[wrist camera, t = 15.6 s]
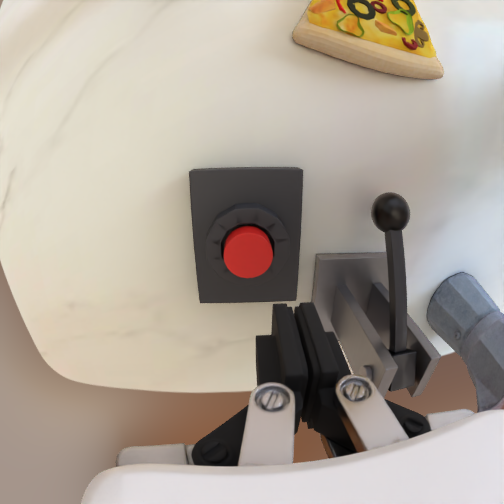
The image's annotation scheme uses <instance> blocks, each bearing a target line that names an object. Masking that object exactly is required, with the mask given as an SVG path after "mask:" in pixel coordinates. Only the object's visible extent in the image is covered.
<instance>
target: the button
mask: <svg viewBox="0 0 504 504" xmlns="http://www.w3.org/2000/svg"><path fill="white" fill-rule="evenodd" d="M272 259H273V251H272V247H271V244H270V241H269V238H268V236H267V235H266V234H265V233H264V232H263V231H262V230H260V229H259V228H257V227H253V226H243V227H239V228H237V229H235V230H234V231H232V232H231V233H230V234H229V236H228V237H227V239H226V242H225V248H224V262H225V264H226V266H227V268H228V269H229V270H230V271H231V272H232V273H233V274H235V275H237V276H239V277H242V278H254V277H257V276H259V275H261V274H263V273H264V272H265V271H266V270H267V269H268V268H269V267H270V265H271V263H272Z"/></svg>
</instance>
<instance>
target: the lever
mask: <svg viewBox="0 0 504 504" xmlns="http://www.w3.org/2000/svg"><path fill="white" fill-rule="evenodd" d="M371 216H372V220H373V222H374V224H375V226H376V227H377V228H378V229H379V230H381V231H383V232H385V241H386V252H387V265H388V281H389V312H390V332H389V349H387V350H388V351H389V353H390V355H391V356H392V358H393V360H394V361H395V363H396V365H397V366H398V369H397V371H396V373H395V375H394V378H393V380H392V382H391V384H390V386H389V389H388V390H389V391H395V390H399V389H403V388H407V387H411V386H414V382H415V371H416V357H417V351H414V350H410V349H407V348H406V346H407V291H406V272H405V258H404V247H403V238H402V230H403V229H404V228H405V227H406V226H407V224H408V222H409V219H410V209H409V205H408V203H407V202H406V200H405V199H404V198H403V197H402V196H400V195H399V194H396V193H392V192H388V193H384V194H382V195H380V196H378V197H377V198H376V199H375V201H374V203H373V205H372V209H371Z"/></svg>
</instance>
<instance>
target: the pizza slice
mask: <svg viewBox="0 0 504 504" xmlns="http://www.w3.org/2000/svg"><path fill="white" fill-rule="evenodd" d="M293 39H294V40H295V42H296V43H298V44H300V45H303V46H306V47H308V48H311V49H314V50H316V51H319V52H322V53H325V54H327V55H330V56H333V57H336V58H339V59H342V60H345V61H347V62H350V63H354V64H357V65H360V66H363V67H366V68H370V69H374V70H377V71H381V72H384V73H390V74H395V75H399V76H406V77H412V78H421V79H439V78H442V77H443V74H444V70H443V67H442V65H441V63H440V61H439V60H438V58H437V57H436V51H435V49H434V47H433V45H432V43H431V39H430V36H429V33H428V30H427V28H426V26H425V24H424V22H423V21H422V19H421V17H420V15H419V13H418V10H417V8H416V5H415V2H414V0H312V1H311V2H310V4H309V6H308V7H307V9H306V11H305V13H304V14H303V16H302V18H301V20H300V21H299V23H298V24H297V26H296V27H295V29H294V31H293Z"/></svg>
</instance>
